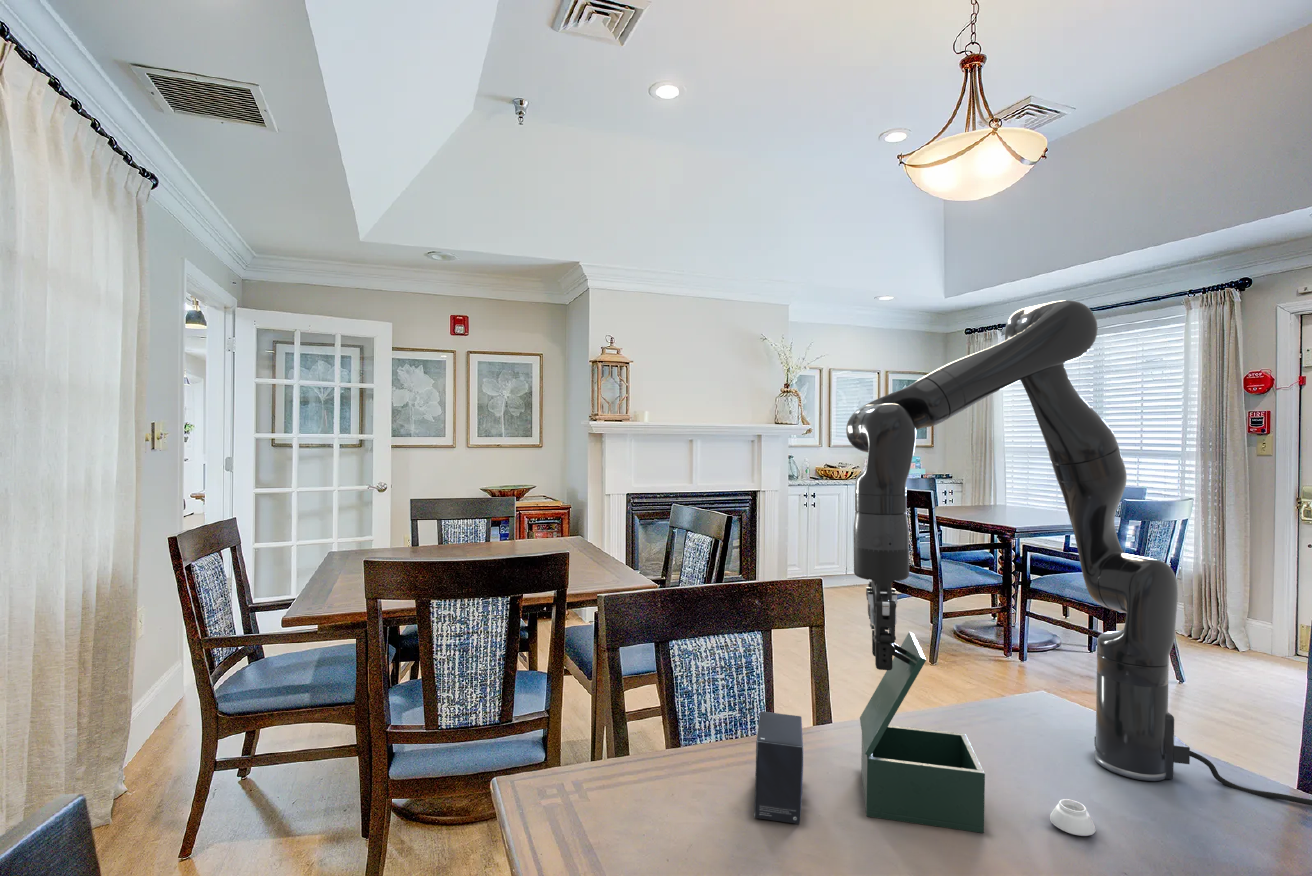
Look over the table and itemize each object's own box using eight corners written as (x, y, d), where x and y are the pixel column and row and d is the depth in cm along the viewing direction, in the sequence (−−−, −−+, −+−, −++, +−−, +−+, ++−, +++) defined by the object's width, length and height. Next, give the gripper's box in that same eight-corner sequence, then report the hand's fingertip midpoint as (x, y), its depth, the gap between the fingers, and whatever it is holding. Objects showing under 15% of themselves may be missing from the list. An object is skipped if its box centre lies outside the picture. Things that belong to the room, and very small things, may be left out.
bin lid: (914, 634, 100) (884, 617, 101) (926, 660, 88) (892, 640, 89) (864, 720, 102) (835, 703, 103) (870, 757, 90) (837, 737, 91)
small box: (803, 826, 88) (804, 746, 88) (753, 820, 89) (754, 741, 89) (802, 785, 98) (803, 714, 98) (757, 780, 99) (758, 709, 99)
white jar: (1087, 843, 85) (1100, 828, 88) (1088, 820, 85) (1100, 806, 88) (1044, 826, 89) (1057, 812, 92) (1044, 804, 89) (1058, 791, 92)
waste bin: (964, 786, 98) (965, 733, 98) (984, 833, 87) (985, 773, 87) (861, 773, 102) (861, 722, 102) (866, 816, 90) (867, 758, 90)
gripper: (915, 552, 88) (917, 682, 88) (902, 537, 102) (903, 649, 102) (856, 551, 90) (857, 678, 89) (851, 535, 103) (852, 645, 103)
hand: (882, 661), depth 96 cm, fingers closed on bin lid, 5 cm apart
